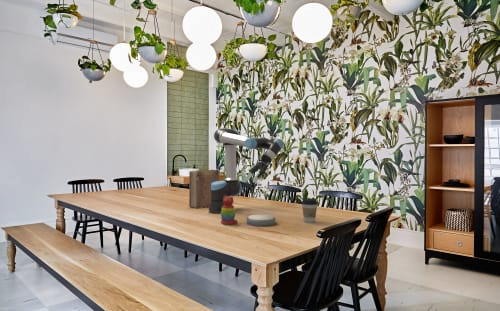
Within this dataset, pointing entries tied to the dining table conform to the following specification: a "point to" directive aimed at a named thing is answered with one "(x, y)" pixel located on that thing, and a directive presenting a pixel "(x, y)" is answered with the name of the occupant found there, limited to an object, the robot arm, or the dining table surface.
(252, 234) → the dining table surface
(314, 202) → the coffee cup
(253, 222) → the pedestal
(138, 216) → the dining table surface
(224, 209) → the stacking bear
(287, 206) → the dining table surface
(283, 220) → the dining table surface
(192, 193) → the book
